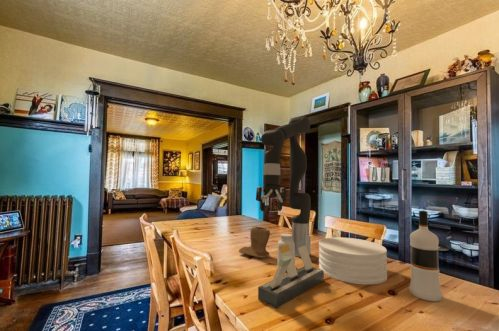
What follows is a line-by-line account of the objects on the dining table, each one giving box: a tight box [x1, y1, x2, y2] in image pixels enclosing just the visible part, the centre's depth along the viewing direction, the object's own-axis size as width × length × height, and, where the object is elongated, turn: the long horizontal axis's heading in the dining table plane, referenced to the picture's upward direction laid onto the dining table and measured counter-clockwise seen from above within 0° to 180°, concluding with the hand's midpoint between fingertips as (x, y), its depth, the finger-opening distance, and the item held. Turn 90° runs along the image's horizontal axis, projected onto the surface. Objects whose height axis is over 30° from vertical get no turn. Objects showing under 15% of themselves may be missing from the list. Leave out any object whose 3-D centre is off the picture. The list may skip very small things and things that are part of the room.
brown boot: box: [238, 225, 271, 259], centre depth 126 cm, size 15×12×15 cm
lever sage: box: [270, 256, 292, 289], centre depth 79 cm, size 1×4×12 cm, turn 134°
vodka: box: [408, 210, 443, 303], centre depth 84 cm, size 9×9×30 cm
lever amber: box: [279, 245, 298, 280], centre depth 90 cm, size 1×4×12 cm, turn 135°
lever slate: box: [296, 240, 314, 271], centre depth 97 cm, size 1×4×12 cm, turn 135°
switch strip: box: [257, 266, 325, 309], centre depth 87 cm, size 8×30×4 cm, turn 134°
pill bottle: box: [276, 233, 296, 272], centre depth 109 cm, size 8×8×15 cm
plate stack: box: [318, 236, 388, 285], centre depth 106 cm, size 28×28×12 cm
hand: (271, 211), depth 103 cm, fingers open, 8 cm apart
